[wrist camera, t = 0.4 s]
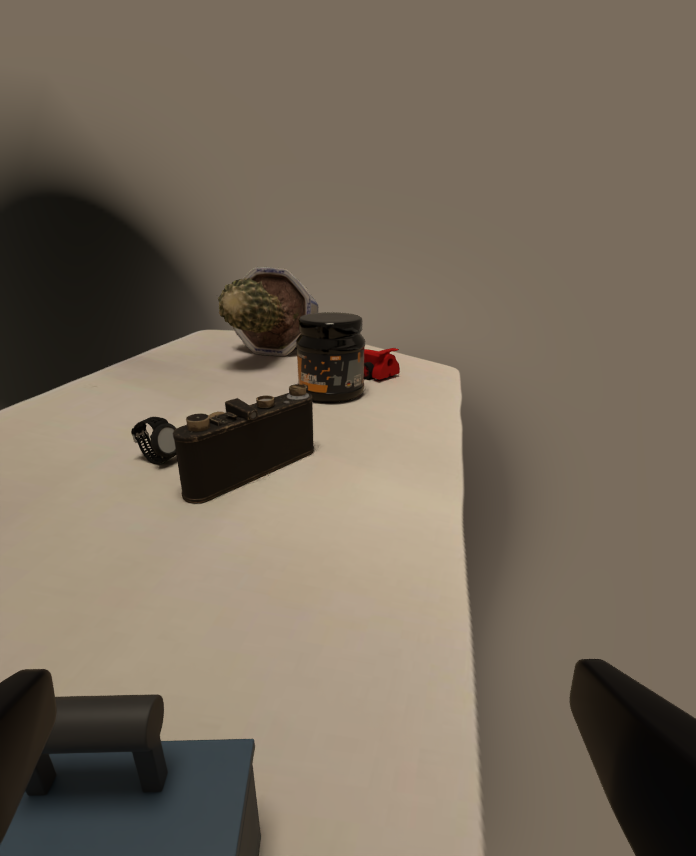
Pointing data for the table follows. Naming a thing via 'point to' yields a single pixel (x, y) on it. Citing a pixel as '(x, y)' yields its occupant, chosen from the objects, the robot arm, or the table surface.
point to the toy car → (380, 364)
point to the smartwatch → (156, 439)
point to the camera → (242, 442)
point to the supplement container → (331, 356)
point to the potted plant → (266, 309)
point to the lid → (130, 786)
